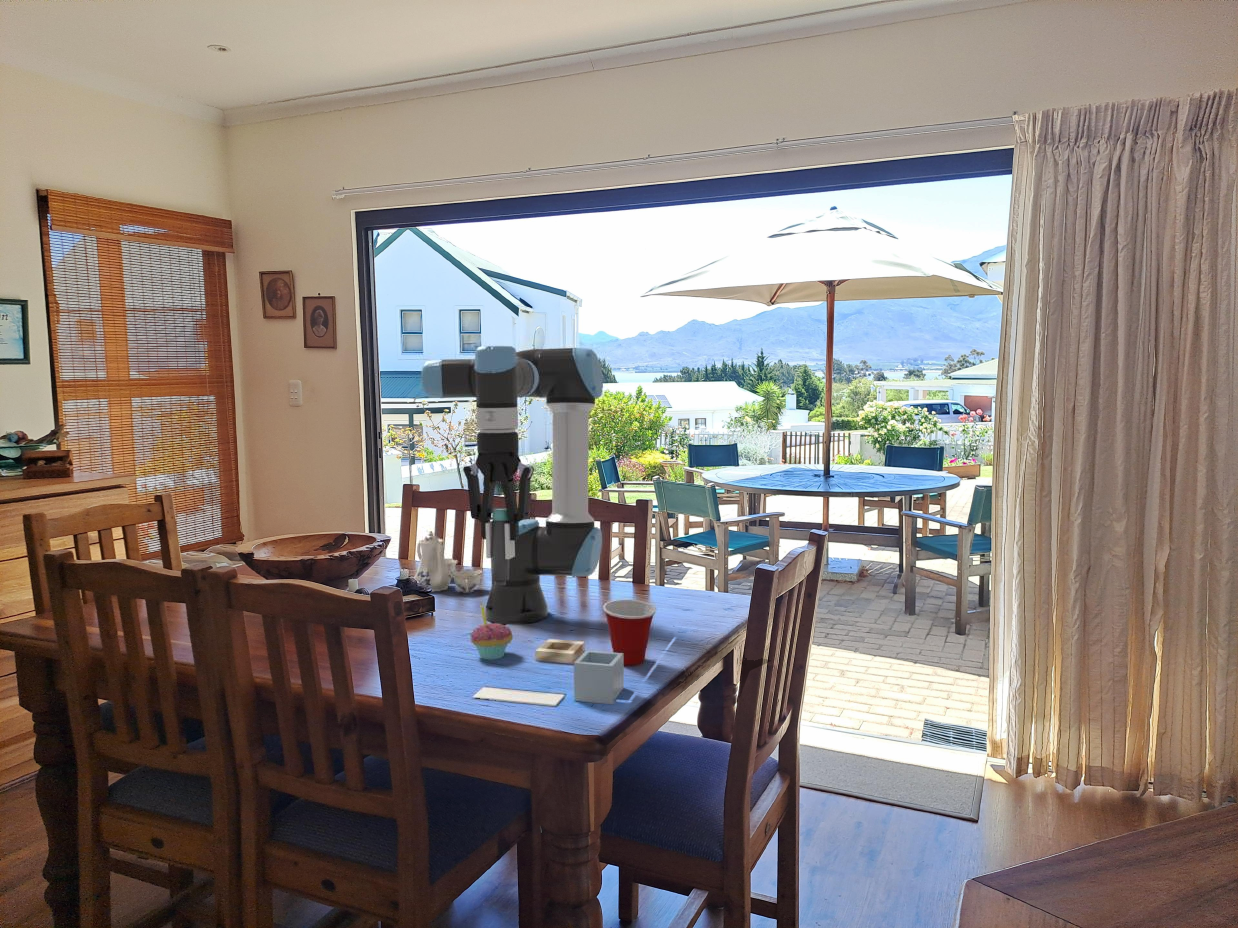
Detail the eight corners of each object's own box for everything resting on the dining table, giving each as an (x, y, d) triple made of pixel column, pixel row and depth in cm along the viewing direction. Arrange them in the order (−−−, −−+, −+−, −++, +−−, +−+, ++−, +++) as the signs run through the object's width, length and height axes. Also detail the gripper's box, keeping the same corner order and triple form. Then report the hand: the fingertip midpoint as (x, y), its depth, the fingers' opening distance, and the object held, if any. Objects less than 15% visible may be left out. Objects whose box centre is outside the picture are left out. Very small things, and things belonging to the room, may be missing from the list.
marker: (491, 585, 158) (492, 509, 158) (490, 583, 161) (492, 508, 161) (509, 585, 158) (510, 509, 158) (508, 583, 161) (509, 508, 161)
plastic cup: (632, 676, 166) (631, 616, 165) (592, 664, 173) (591, 606, 172) (668, 662, 174) (667, 604, 173) (628, 651, 181) (628, 596, 180)
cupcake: (476, 666, 173) (475, 608, 172) (466, 654, 181) (465, 598, 180) (518, 660, 177) (516, 603, 175) (506, 648, 184) (504, 593, 183)
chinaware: (493, 597, 234) (497, 536, 233) (437, 601, 223) (441, 538, 223) (445, 579, 256) (448, 523, 255) (392, 582, 245) (395, 524, 245)
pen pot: (574, 700, 154) (573, 662, 154) (586, 686, 161) (586, 650, 160) (612, 704, 152) (612, 665, 152) (623, 689, 159) (623, 653, 159)
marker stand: (535, 662, 175) (535, 650, 175) (549, 650, 183) (548, 638, 182) (572, 665, 173) (572, 653, 173) (584, 653, 181) (584, 641, 180)
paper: (472, 698, 156) (472, 696, 156) (503, 672, 169) (503, 670, 169) (555, 706, 152) (555, 704, 152) (580, 679, 165) (580, 677, 165)
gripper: (448, 432, 156) (451, 559, 158) (531, 432, 151) (534, 563, 154) (466, 429, 163) (469, 551, 165) (546, 430, 159) (548, 555, 161)
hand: (500, 556), depth 160 cm, fingers closed on marker, 3 cm apart
